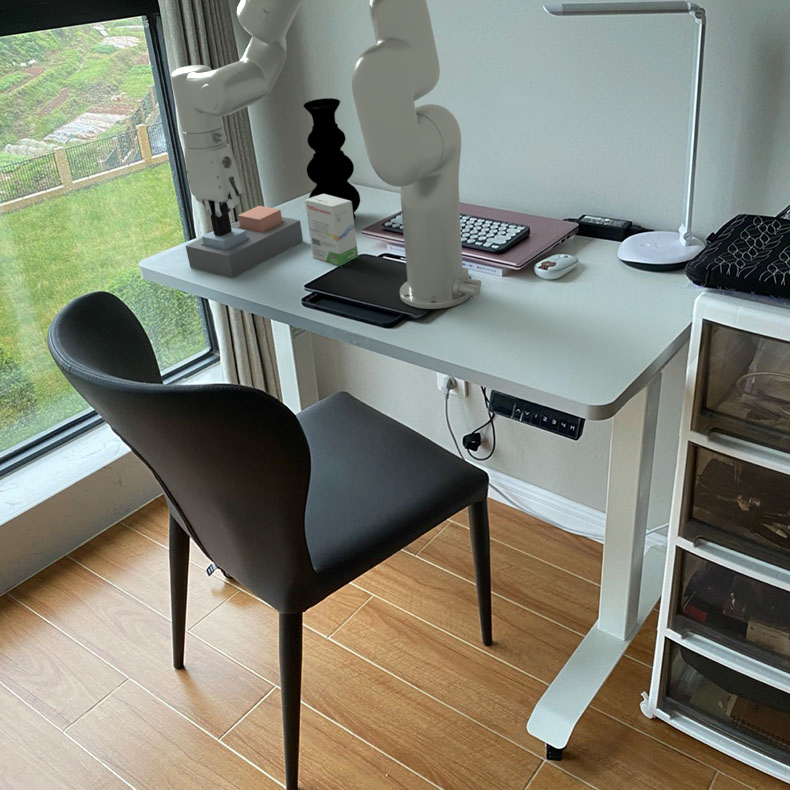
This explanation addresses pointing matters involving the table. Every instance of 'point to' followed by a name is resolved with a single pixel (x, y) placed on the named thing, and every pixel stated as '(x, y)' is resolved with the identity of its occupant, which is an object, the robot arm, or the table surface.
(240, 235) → the key blue
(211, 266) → the key panel
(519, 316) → the table surface
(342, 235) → the ink box
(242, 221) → the key red
